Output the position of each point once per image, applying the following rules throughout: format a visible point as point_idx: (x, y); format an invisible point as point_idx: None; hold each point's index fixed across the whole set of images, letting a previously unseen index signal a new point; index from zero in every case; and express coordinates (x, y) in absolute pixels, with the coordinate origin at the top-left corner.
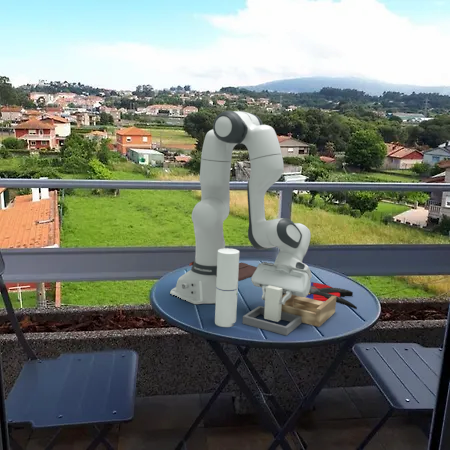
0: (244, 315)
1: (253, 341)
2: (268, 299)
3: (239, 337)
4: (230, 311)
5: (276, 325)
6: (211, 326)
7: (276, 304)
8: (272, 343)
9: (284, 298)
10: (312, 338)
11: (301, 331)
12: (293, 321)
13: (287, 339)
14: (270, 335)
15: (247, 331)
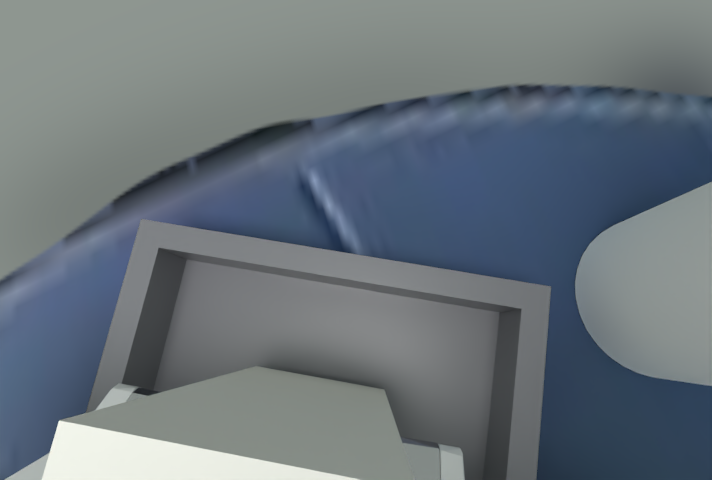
0: (546, 310)
1: (363, 108)
2: (342, 416)
3: (461, 121)
4: (672, 207)
5: (232, 234)
6: None
7: (228, 386)
8: (248, 133)
9: None
10: (9, 323)
11: None
12: (108, 383)
13: None
14: (288, 238)
15: (450, 228)
